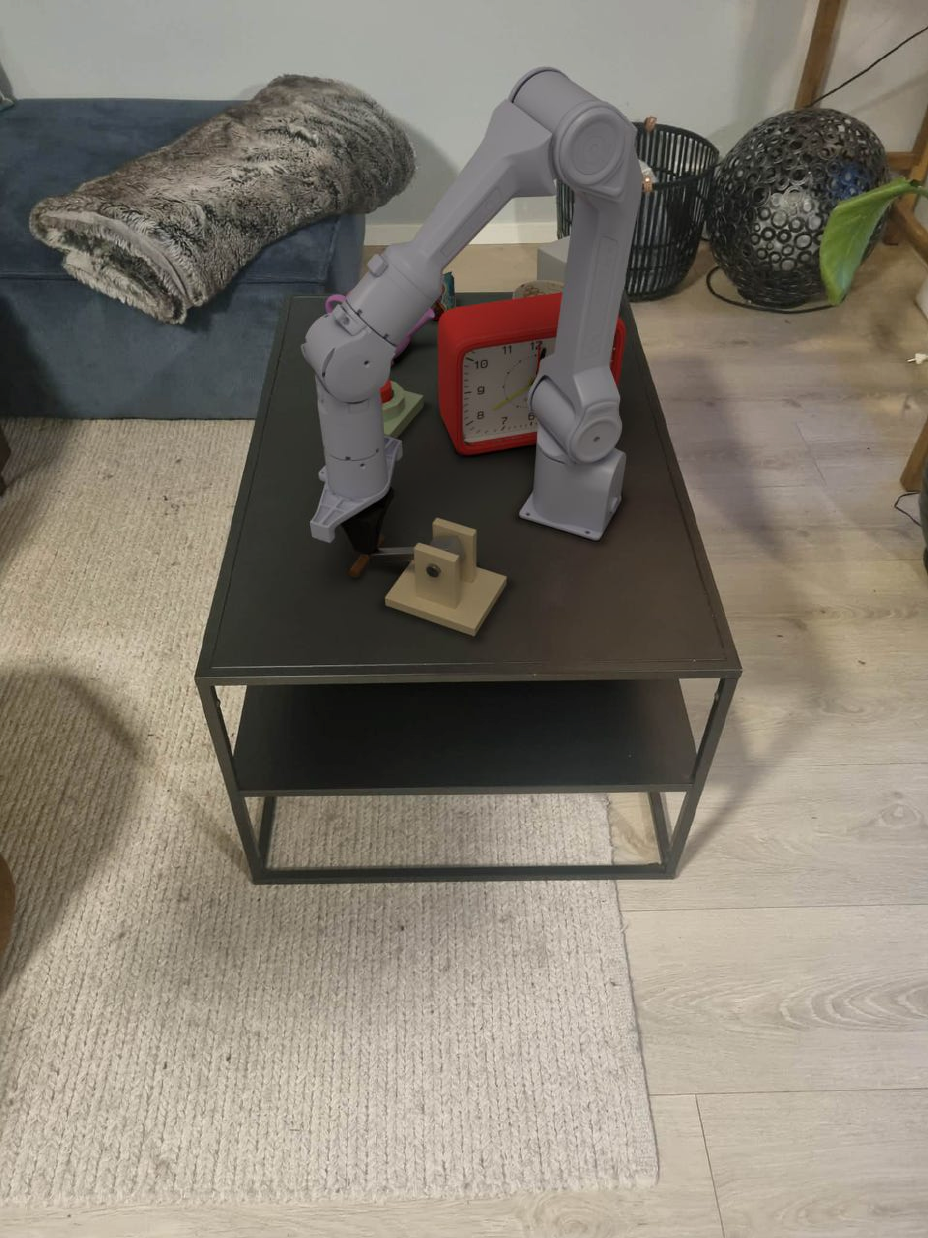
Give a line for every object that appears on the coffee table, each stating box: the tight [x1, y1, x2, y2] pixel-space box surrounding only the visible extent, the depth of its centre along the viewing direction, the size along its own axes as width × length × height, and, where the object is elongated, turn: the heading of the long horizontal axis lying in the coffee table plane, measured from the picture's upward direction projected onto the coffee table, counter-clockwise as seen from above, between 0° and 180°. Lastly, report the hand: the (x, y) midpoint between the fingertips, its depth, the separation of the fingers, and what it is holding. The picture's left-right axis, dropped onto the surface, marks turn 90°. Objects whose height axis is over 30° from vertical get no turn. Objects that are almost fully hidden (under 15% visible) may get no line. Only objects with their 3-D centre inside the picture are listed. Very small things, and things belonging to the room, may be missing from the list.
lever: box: [348, 533, 466, 579], centre depth 94 cm, size 12×6×2 cm, turn 65°
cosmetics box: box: [536, 234, 571, 283], centre depth 129 cm, size 10×6×10 cm, turn 126°
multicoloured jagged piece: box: [430, 270, 459, 321], centre depth 133 cm, size 12×7×6 cm
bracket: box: [384, 517, 508, 637], centre depth 93 cm, size 10×8×8 cm
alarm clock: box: [437, 292, 627, 456], centre depth 109 cm, size 10×20×16 cm, turn 105°
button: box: [380, 378, 392, 404], centre depth 113 cm, size 4×4×2 cm
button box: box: [382, 380, 425, 440], centre depth 115 cm, size 8×9×4 cm
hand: (365, 549), depth 96 cm, fingers closed, pressing on lever
